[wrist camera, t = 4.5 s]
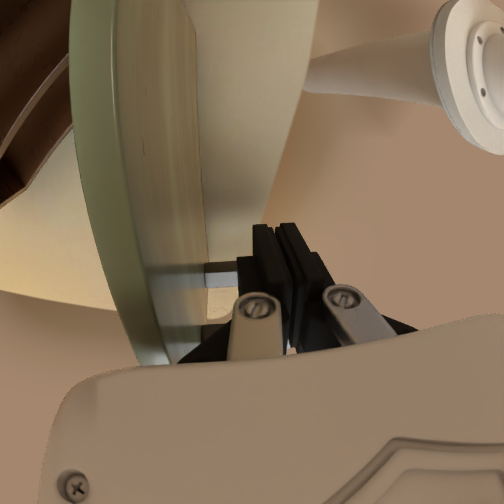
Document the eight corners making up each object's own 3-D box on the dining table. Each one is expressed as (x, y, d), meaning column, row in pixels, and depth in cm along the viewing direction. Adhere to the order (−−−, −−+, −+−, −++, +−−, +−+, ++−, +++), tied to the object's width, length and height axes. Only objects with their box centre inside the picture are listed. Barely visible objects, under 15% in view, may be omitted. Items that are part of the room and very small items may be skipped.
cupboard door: (266, 30, 17) (383, -92, 2) (265, 260, 27) (311, 446, 12) (182, 33, 16) (88, -93, 1) (198, 264, 27) (188, 456, 12)
